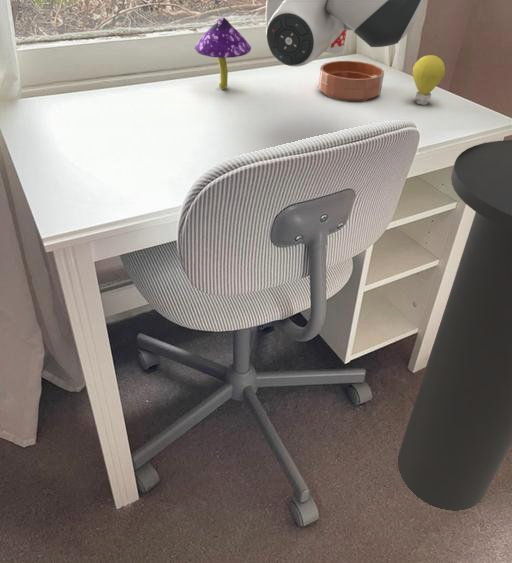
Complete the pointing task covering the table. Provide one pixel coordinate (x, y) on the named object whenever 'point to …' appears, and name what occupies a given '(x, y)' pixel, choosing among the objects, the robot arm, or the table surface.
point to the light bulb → (427, 76)
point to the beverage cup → (337, 44)
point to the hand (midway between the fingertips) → (336, 2)
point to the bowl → (350, 80)
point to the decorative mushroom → (222, 46)
